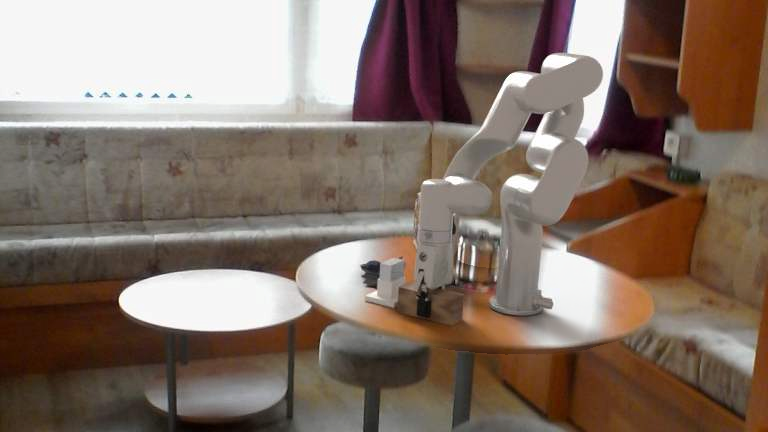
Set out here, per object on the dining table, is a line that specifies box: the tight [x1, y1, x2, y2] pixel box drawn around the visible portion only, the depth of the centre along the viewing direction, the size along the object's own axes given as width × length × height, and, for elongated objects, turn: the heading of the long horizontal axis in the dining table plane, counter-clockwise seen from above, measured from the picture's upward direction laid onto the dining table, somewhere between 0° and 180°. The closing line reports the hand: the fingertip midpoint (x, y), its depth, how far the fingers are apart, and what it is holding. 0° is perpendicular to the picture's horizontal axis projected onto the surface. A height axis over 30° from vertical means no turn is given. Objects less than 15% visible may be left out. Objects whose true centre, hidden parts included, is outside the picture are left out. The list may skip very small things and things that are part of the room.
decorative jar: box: [412, 191, 461, 255], centre depth 251 cm, size 12×12×18 cm
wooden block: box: [396, 281, 465, 326], centre depth 197 cm, size 14×5×6 cm, turn 59°
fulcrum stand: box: [364, 257, 406, 309], centre depth 206 cm, size 8×10×9 cm
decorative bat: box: [359, 256, 403, 288], centre depth 225 cm, size 30×4×10 cm
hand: (429, 312), depth 197 cm, fingers closed on wooden block, 5 cm apart
